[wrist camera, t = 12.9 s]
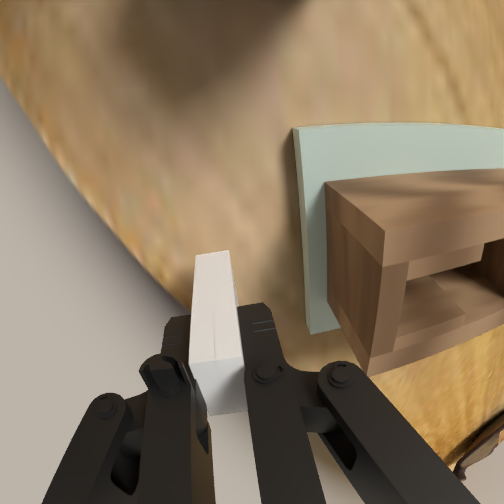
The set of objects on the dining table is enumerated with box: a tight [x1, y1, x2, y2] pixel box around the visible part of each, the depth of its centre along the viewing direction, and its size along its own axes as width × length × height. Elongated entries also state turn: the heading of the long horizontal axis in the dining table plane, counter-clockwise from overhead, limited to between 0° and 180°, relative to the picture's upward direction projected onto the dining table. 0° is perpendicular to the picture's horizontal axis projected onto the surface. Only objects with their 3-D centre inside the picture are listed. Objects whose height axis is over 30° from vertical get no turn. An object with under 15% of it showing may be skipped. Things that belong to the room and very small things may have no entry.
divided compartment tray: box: [324, 168, 504, 377], centre depth 14 cm, size 20×7×6 cm, turn 97°
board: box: [292, 122, 504, 335], centre depth 16 cm, size 28×12×4 cm, turn 97°
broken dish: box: [453, 414, 504, 481], centre depth 38 cm, size 22×30×8 cm
